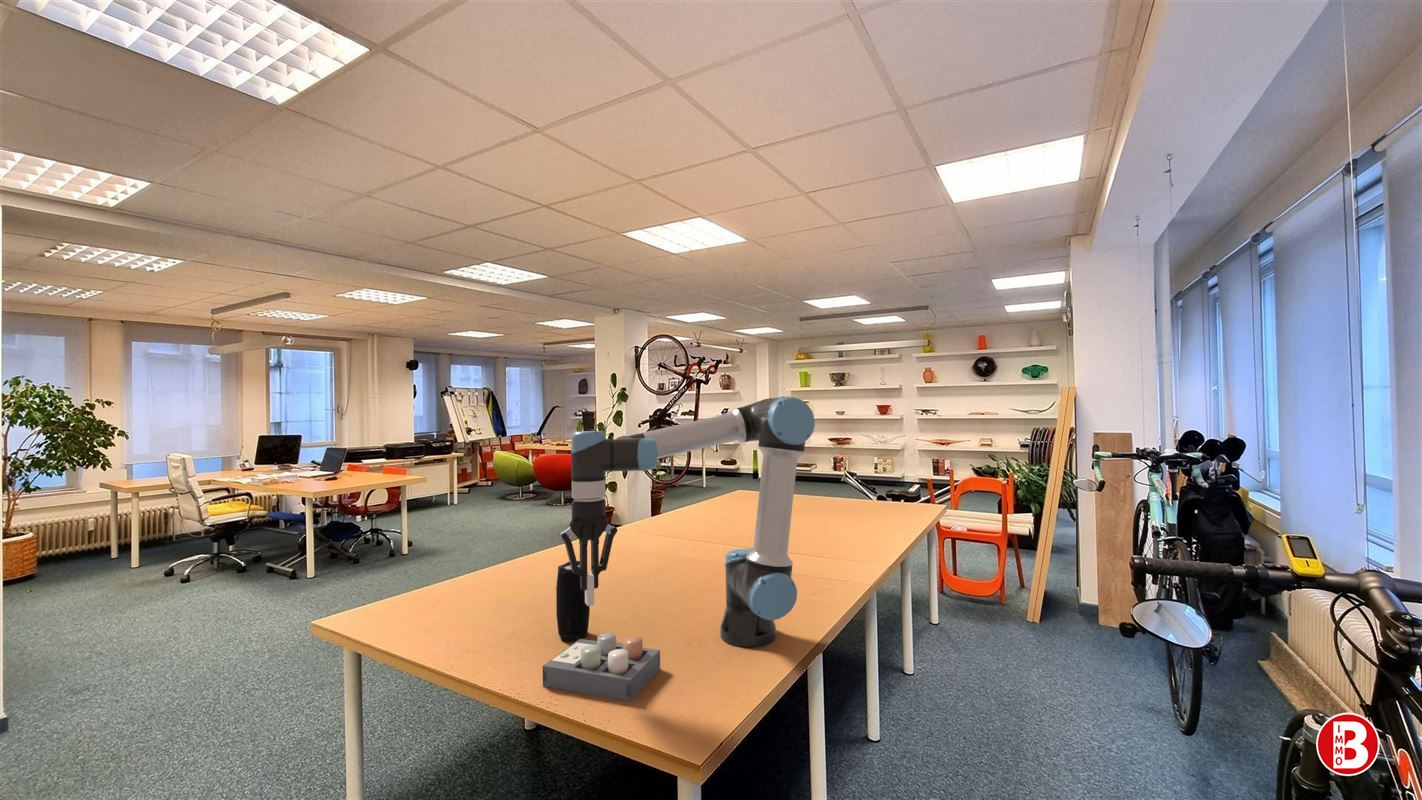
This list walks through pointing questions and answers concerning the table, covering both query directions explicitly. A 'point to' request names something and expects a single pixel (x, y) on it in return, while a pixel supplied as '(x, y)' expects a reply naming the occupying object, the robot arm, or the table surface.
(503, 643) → the table surface
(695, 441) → the robot arm
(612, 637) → the button grey
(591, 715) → the table surface
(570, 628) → the portable speaker
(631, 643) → the button terracotta
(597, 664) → the button sage
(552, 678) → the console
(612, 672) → the button ivory
